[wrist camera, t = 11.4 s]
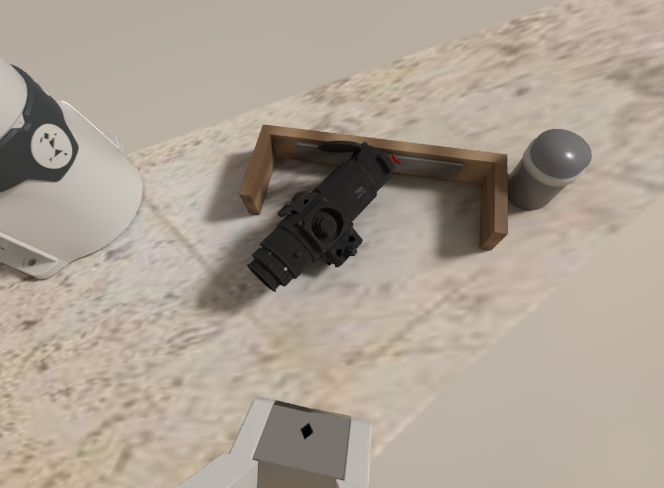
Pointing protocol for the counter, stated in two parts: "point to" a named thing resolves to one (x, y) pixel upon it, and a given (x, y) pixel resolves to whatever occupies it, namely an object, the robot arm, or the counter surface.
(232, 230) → the counter surface
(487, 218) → the bracket
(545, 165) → the gray domed cylinder
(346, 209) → the night vision scope
